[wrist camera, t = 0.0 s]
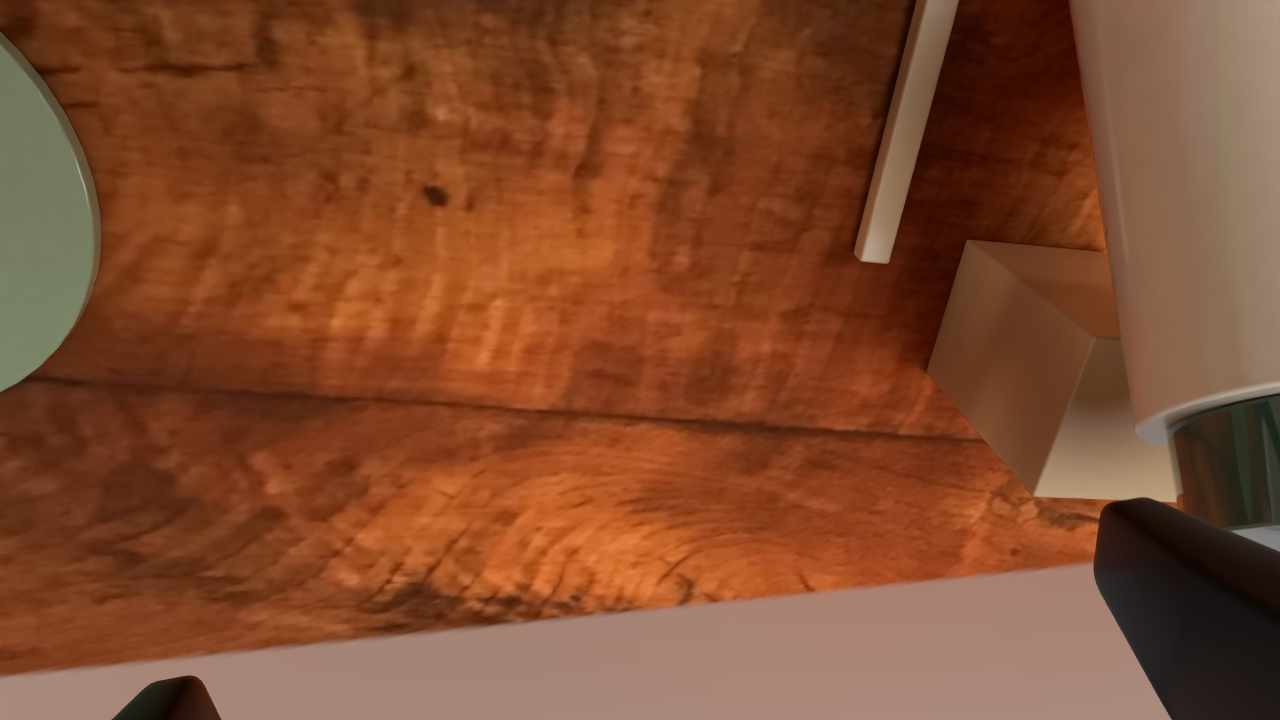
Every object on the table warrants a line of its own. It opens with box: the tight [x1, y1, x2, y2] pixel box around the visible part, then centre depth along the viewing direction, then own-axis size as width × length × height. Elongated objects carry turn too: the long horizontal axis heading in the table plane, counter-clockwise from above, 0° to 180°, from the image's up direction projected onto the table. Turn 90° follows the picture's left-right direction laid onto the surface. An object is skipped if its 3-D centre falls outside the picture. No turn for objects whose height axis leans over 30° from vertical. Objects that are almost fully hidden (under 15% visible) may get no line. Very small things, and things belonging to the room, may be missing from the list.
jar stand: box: [854, 0, 1177, 502], centre depth 21 cm, size 13×10×6 cm
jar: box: [1069, 0, 1280, 550], centre depth 17 cm, size 13×6×13 cm, turn 172°
